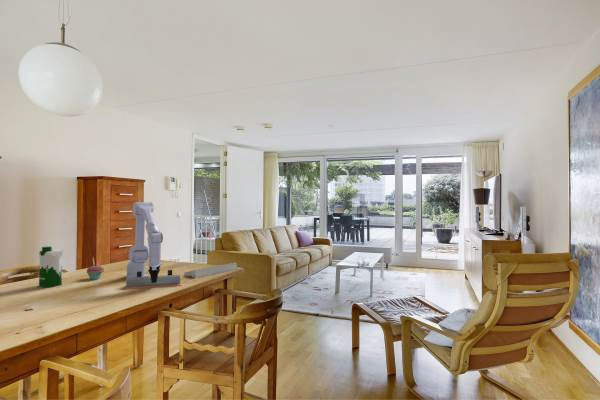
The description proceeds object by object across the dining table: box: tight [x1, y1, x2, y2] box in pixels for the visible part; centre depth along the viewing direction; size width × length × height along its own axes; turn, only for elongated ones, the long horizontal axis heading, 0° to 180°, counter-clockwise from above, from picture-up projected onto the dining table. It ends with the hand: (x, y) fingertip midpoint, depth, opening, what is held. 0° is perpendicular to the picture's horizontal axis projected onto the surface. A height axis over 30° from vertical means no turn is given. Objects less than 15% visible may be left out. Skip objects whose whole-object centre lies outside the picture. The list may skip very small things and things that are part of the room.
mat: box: [124, 280, 182, 290], centre depth 184 cm, size 27×9×1 cm, turn 111°
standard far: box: [166, 269, 173, 276], centre depth 197 cm, size 4×11×5 cm, turn 21°
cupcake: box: [86, 257, 105, 280], centre depth 197 cm, size 9×8×12 cm
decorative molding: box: [183, 262, 238, 279], centre depth 221 cm, size 34×5×10 cm
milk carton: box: [38, 246, 64, 289], centre depth 179 cm, size 9×9×20 cm
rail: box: [125, 274, 181, 287], centre depth 184 cm, size 26×4×4 cm, turn 111°
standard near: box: [137, 271, 142, 277], centre depth 191 cm, size 4×11×5 cm, turn 21°
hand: (154, 281), depth 184 cm, fingers open, 7 cm apart
